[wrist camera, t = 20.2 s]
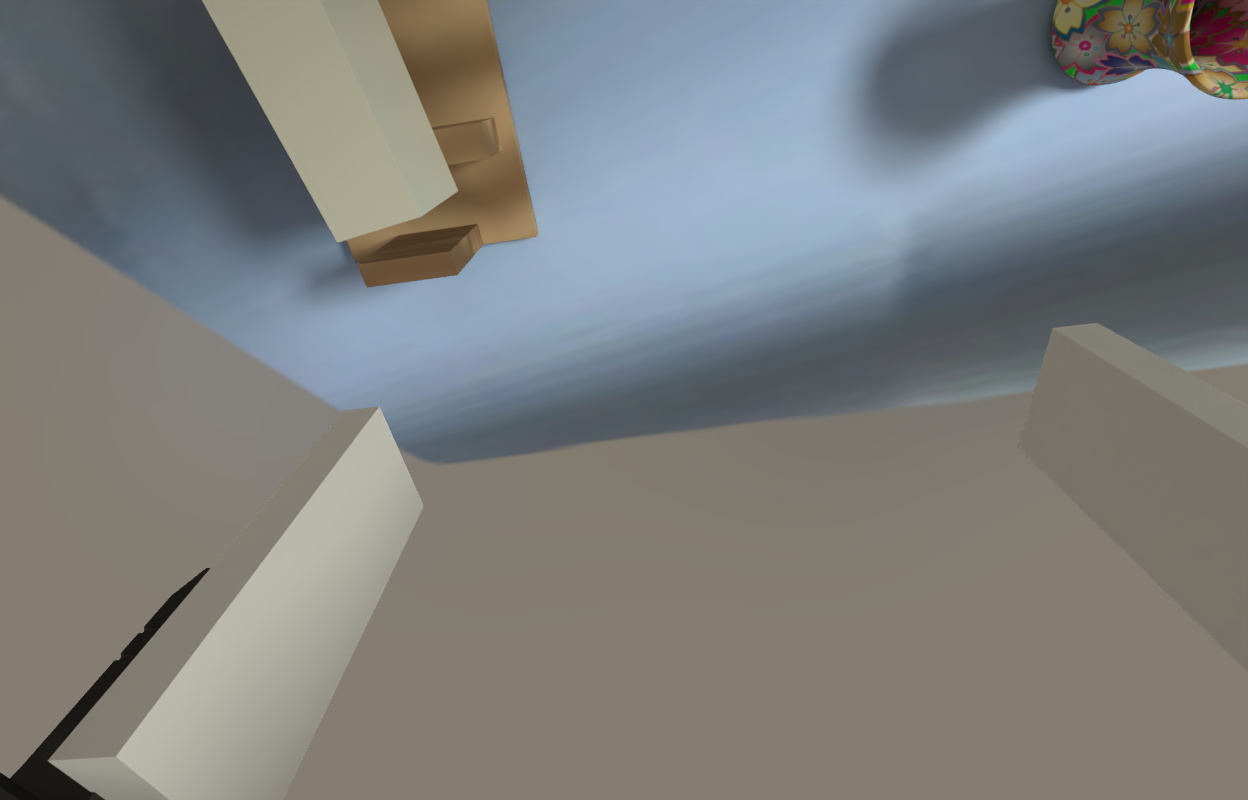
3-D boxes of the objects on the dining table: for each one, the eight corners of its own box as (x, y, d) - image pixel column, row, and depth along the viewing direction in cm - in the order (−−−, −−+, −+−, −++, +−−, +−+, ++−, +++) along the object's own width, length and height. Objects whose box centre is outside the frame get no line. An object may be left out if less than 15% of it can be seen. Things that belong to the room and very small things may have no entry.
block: (229, -106, 27) (115, -155, 21) (317, -144, 26) (223, -207, 20) (387, 213, 35) (337, 242, 29) (458, 190, 34) (421, 216, 28)
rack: (187, -176, 29) (52, -251, 22) (436, -231, 28) (372, -327, 21) (361, 258, 42) (308, 295, 35) (538, 233, 40) (519, 266, 34)
